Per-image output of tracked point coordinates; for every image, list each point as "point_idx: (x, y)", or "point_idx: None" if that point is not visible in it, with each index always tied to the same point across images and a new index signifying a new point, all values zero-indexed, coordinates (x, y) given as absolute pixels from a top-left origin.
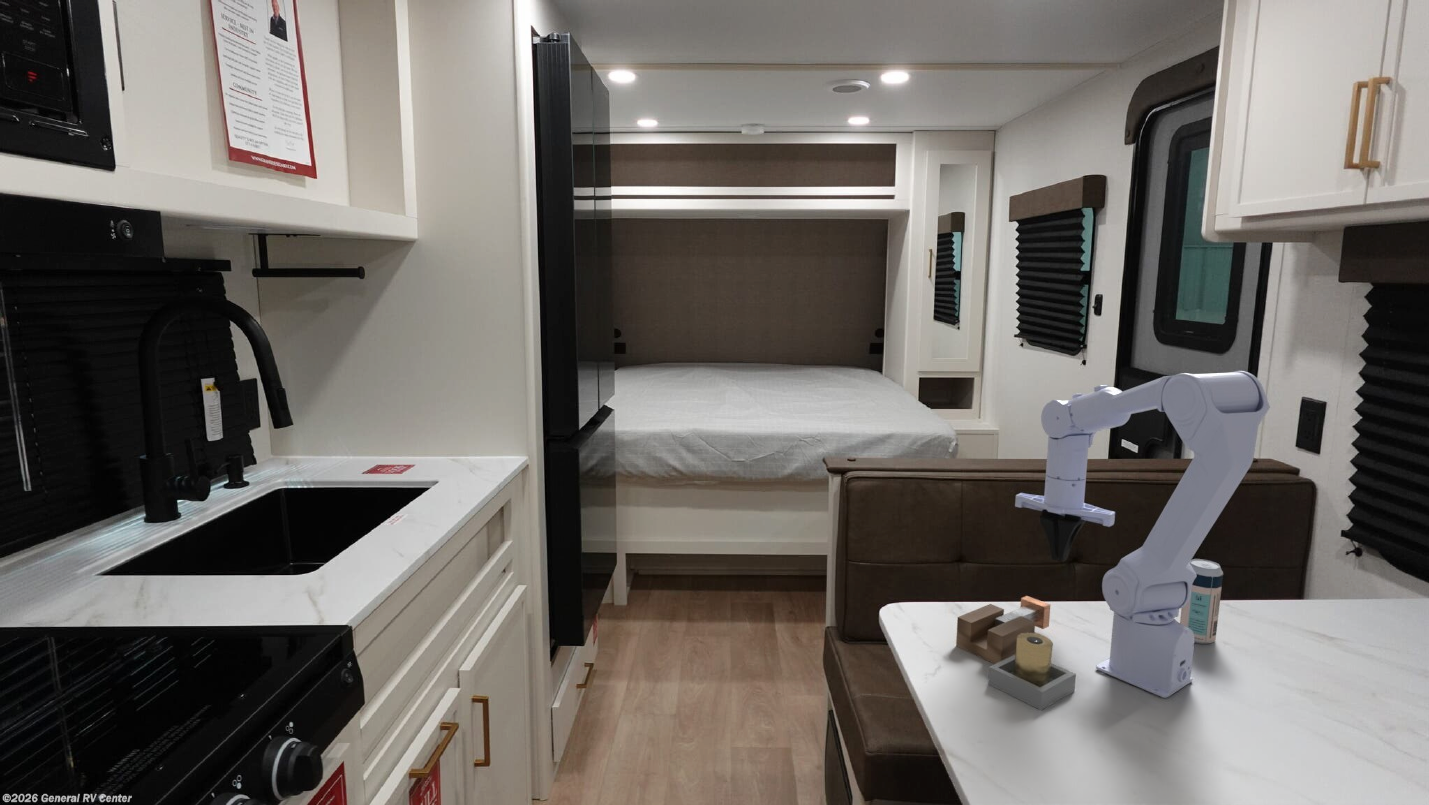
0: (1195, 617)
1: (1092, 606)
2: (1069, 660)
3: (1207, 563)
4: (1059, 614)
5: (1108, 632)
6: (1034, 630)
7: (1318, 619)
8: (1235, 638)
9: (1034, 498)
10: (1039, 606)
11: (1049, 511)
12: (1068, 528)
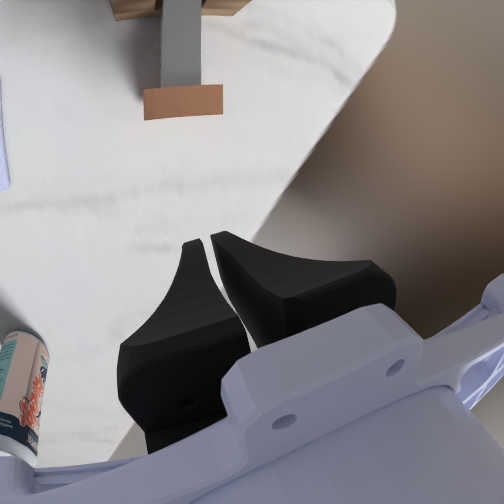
0: (2, 362)
1: None
2: (47, 58)
3: None
4: (193, 223)
5: (86, 242)
6: (112, 6)
7: (54, 462)
8: None
9: (488, 372)
10: (159, 88)
11: (365, 310)
12: (153, 333)
